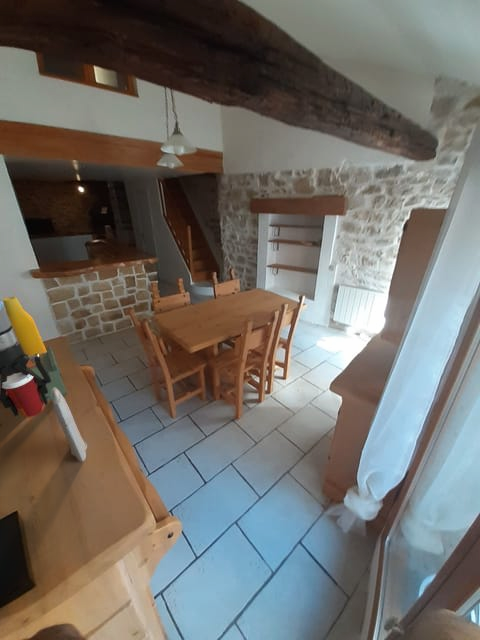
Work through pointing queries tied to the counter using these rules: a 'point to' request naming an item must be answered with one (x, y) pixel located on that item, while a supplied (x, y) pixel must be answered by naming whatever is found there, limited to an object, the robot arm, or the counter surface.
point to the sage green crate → (49, 372)
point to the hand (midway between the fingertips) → (31, 407)
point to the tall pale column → (68, 425)
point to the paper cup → (24, 394)
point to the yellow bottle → (24, 327)
